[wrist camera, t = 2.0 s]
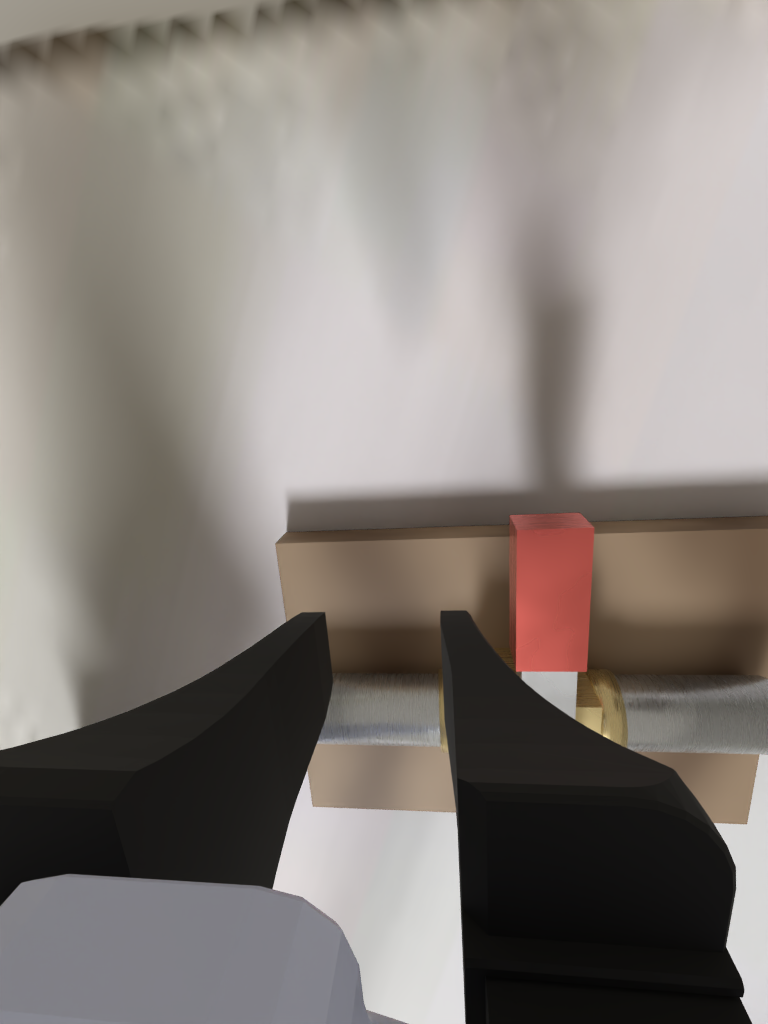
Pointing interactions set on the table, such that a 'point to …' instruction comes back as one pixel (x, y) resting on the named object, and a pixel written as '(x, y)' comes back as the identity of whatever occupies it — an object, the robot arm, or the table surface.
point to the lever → (550, 602)
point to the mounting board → (485, 596)
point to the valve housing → (599, 706)
